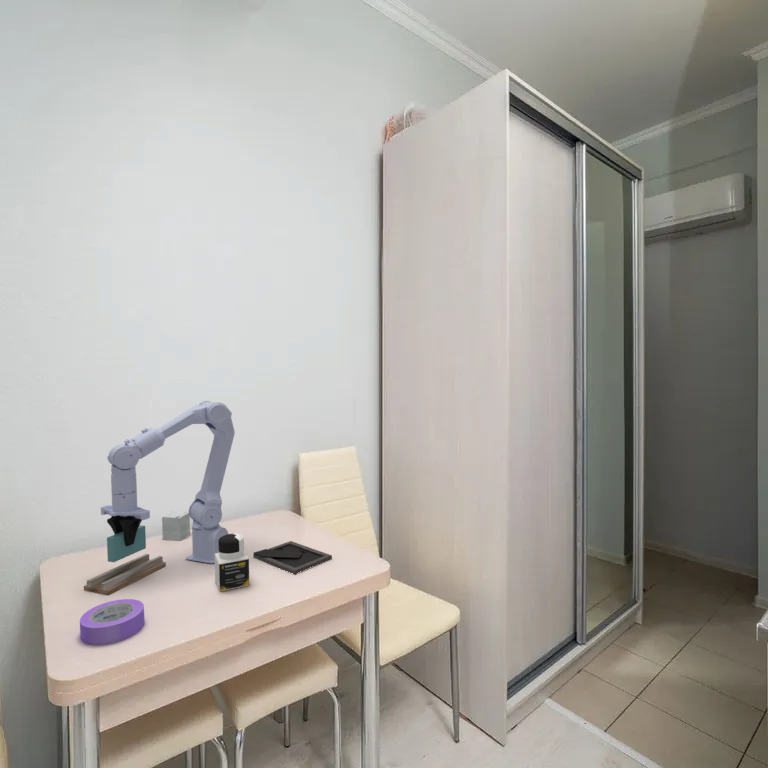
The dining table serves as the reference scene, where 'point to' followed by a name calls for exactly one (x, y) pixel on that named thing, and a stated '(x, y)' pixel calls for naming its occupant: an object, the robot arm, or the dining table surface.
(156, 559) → the door track
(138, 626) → the masking tape
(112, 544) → the door panel
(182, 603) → the dining table surface
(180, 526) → the skincare box
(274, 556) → the picture frame
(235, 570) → the medicine bottle
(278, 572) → the dining table surface
